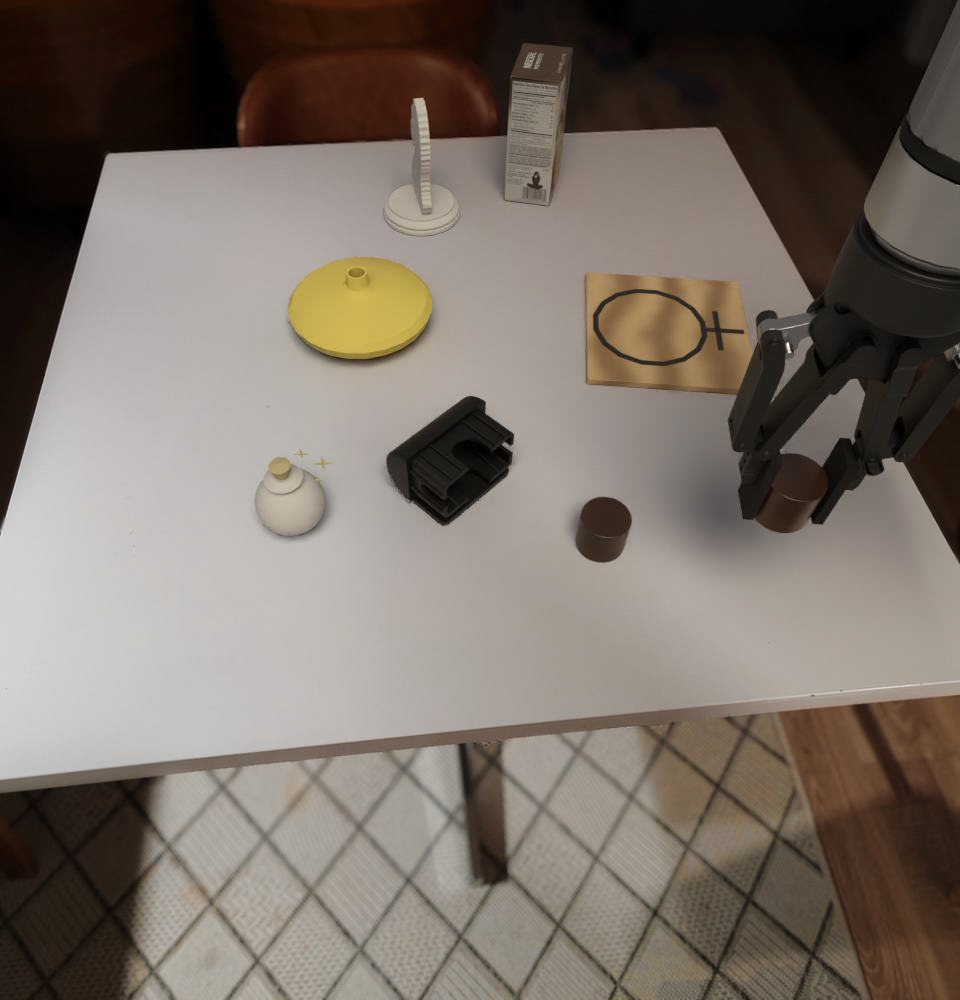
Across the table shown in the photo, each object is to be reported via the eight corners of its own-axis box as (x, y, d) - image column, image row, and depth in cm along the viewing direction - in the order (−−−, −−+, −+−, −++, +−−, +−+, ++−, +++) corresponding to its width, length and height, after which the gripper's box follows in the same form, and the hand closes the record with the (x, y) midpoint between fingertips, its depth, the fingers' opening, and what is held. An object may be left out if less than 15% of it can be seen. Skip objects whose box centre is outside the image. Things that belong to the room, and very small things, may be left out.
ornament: (265, 496, 72) (240, 424, 64) (345, 491, 72) (331, 419, 64) (260, 551, 68) (233, 482, 60) (344, 545, 69) (329, 476, 61)
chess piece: (451, 188, 103) (450, 71, 91) (467, 231, 97) (468, 112, 85) (378, 196, 101) (367, 78, 89) (390, 240, 96) (380, 121, 84)
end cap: (461, 431, 77) (461, 383, 72) (514, 470, 74) (518, 422, 69) (388, 488, 73) (382, 441, 67) (440, 531, 70) (439, 486, 64)
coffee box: (514, 164, 107) (522, 40, 94) (560, 170, 106) (574, 46, 93) (502, 201, 101) (509, 74, 88) (550, 207, 101) (564, 81, 88)
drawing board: (736, 287, 92) (738, 280, 91) (757, 395, 81) (760, 389, 80) (585, 277, 92) (586, 271, 91) (586, 384, 81) (587, 378, 81)
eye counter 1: (623, 524, 71) (630, 498, 68) (624, 564, 68) (633, 539, 65) (575, 520, 71) (580, 494, 68) (575, 561, 68) (581, 536, 65)
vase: (461, 316, 87) (461, 264, 82) (370, 395, 80) (363, 344, 74) (357, 263, 93) (350, 211, 87) (262, 333, 85) (248, 281, 79)
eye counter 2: (802, 487, 59) (822, 454, 55) (813, 535, 56) (835, 503, 53) (744, 484, 59) (760, 450, 55) (752, 531, 56) (770, 499, 53)
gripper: (1083, 199, 40) (885, 475, 59) (749, 180, 41) (658, 460, 59) (1148, 290, 36) (911, 558, 55) (772, 268, 36) (665, 541, 55)
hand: (779, 506), depth 57 cm, fingers closed on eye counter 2, 4 cm apart
